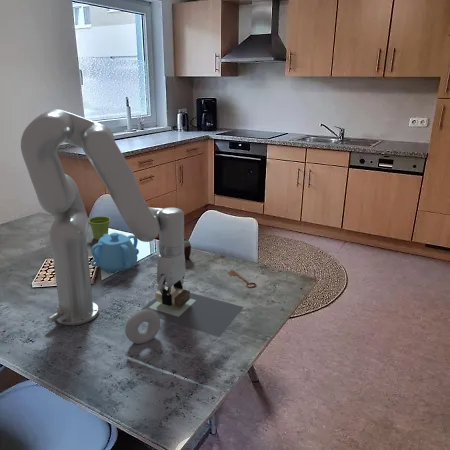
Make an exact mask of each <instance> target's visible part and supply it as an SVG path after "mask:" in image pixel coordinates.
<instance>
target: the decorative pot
mask: <svg viewBox="0 0 450 450" xmlns="http://www.w3.org/2000/svg"><path fill="white" fill-rule="evenodd" d="M131 239H133V242H132V240H131ZM138 241H139V240H138V239H137V238H136V237H135V236H134V235H133V234H131V235H128V236H127V235H125V234H121V233H118V232H112V233H110V234H109V233H108V234H104V235H103V236H102V237H101V238H100V239H99V240H97V243H95V244H94V245H92V247H91V249H90V252H91V253H90V254H91V255H92V257H93V259H92V260H91V262H90V264H91V266H92V267H94V268H95V267H98V268H100V269H101V270H102V271H105V272H107V273H109V274H110V275H111V274H116V273H120V272H123V271H127V270H130V269H132V268H133V267H134V266H135V265H136V264H137V263H138V255H139V253H140V251H139V249H138V248H137V246H138Z"/></svg>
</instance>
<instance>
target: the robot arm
mask: <svg viewBox="0 0 450 450" xmlns="http://www.w3.org/2000/svg"><path fill="white" fill-rule="evenodd" d="M21 135H22V136H21V139H20V151H21V155H22V158H23V161H24V163H25V166H26V168H27V171H28V174H29V178H30V180H31V183H32V186H33V189H34V191H35V194H36V197H37V200H38V203H39V205H40V206H41V209H43V210H44V211H45V212H47V213H48V214H50V215H52V216H53V220H54V221H53V223H52V224H51V226H50V230H49V233H48V234H49V235H48V240H49V246H50V249H51V250H50V251H51V254H52V259H53V266H54V273H55V282H56V288H57V289H56V290H57V298H58V304H59V305H57V306H56V310H55V311H54V313H52V314H51V315H49V316H47V318H46V321H47V322H48V323H49V324H53V322H55V321H56V322H57V323H59V324H61V325H64V326H79V325H83V324H86V323H88V322H91V321H93V319H94V320H95V318H96V317H97V316H98V315H99V312H100V311H99V310H100V309H99V308H100V307H99V305H98V304H97V303H95V302H94V301H93V291H92V281H91V270H90V268H91V267H90V260H89V258H90V257H89V251H88V245H87V234H88V229H89V221H88V220H89V217H88V214H87V211H86V207H85V204H84V201H83V199H82V196H81V193H80V190H79V187H78V185H77V183H76V181H75V180H74V179H73V178H72V177H71V176H70V175H68V174H66V173H65V171H64V168H63V165H62V162H61V159H60V157H59V154H58V147H59V146H60V145H62V144H63V143H66V144H69V145H72V146H73V147H74V146H75V147H78V148H81V149H82V151H83V153H84V154H85V156H86V157H87V159H88V161H89V162H90V163H91V165H92V167H93V168H94V170H95V171H96V173H97V175H98V177H99V178H100V180H101V181H102V183H103V185H104V186H105V188H106V189H107V191H108V193H109V196H110V197H111V200H112V201H113V203H114V204H115V206H116V209H117V210H118V212H119V214H120V215H121V218H122V219H123V220H124V222H125V224H126V226H127V227H128V228H129V230H130V232H131V233H132V235H133V236H135V237H136V238H137V240H138V241H141V242H143V243H148V242H149V243H150V242H152V241H154V240H156V238H159V239H158V240H159V241H158V244H159V245H158V246H159V247H158V248H159V255H158V258H157V264H156V265H157V266H156V268H157V269H156V284H157V287H156V290H157V291H160V292H161V294H162V304H164V305H168V306H171V305H172V294H170V292H171V287H172V286H173V287H176V288H180V289H184V287H183V286H184V279H185V276H186V273H187V268H186V260H185V255H184V239H185V214H184V211H183V209H181V208H178V207H174V206H173V207H165V208H163V207H161V208H160V207H154V206H153V207H151V206H148V204H147V202H146V200H145V199H144V196H143V193H142V192H141V189H140V187H139V183H138V181H137V178H136V175H135V174H134V172H133V170H132V168H131V167H130V165H129V163H128V161H127V160H126V158H125V156H124V155H123V153H122V151H121V150H120V148H119V146H118V144H117V142H116V141H115V135H114V133H113V131H112V130H111V128H109V127H108V126H106V125H104V124H102V123H99V122H96V121H93V120H90V119H87V118H85V117H82V116H79V115H76V114H74V113H71V112H68V111H66V110H62V109H59V108H58V109H57V108H56V109H50V110H48V111H45V112H44V113H41V114H40V115H38V116H36V117H35V118H34V119H33V120H32V121H30V122H29V124H27V126H26V127H25V129H24V131H23V132H22V134H21ZM165 286H166V287H168V290H166V289H165Z"/></svg>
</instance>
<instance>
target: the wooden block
mask: <svg viewBox="0 0 450 450" xmlns="http://www.w3.org/2000/svg"><path fill="white" fill-rule="evenodd" d="M165 289H166V290H168V287H166V286H165ZM190 291H191V290H187V289H185V288H183V289H180V288H176V287H173V285H172V287H171V292H170V294H172V305H171V306H175V307H178V308H181V307H182V306H183V305H184V304H185V303H186V302H187V301H188V300H190V293H191V292H190ZM155 298H156V301H157V302H161V303H162V294H161V292H160V291H158V290H157V291H156V292H155Z"/></svg>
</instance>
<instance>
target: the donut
mask: <svg viewBox="0 0 450 450" xmlns="http://www.w3.org/2000/svg"><path fill="white" fill-rule="evenodd" d="M142 309H143V308H142ZM145 322H146V323H147V326H146V328H144V329H143V330H139V327H140V326H141V324H143V323H145ZM160 328H161V319H160V318H159V316H158V315H157V313H156V312H154V311H153V310H149V309H143V310H141V309H140V310H138V311H137V310H136V312H134V313H133V314H131V315H130V317H129V318H128V319H127V322H126V324H125V330H124V332H125V336H126V338H127V339H128V340H129V342H131V343H133V344H137V345H138V344H139V345H141V344H146V343H148V342H150V341H152V340H153V339H154V338H155V337H156V336H157V334H158V333H159V330H160Z"/></svg>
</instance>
